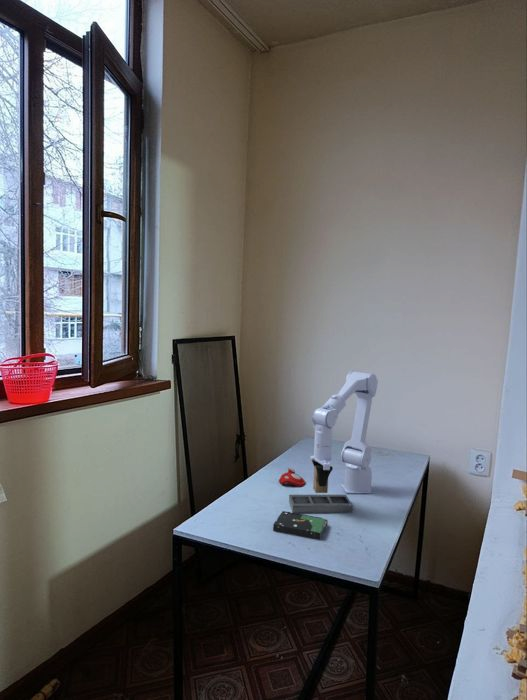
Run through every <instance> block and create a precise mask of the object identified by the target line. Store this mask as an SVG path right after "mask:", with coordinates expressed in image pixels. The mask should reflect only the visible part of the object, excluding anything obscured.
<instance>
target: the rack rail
mask: <svg viewBox="0 0 527 700" xmlns="http://www.w3.org/2000/svg"><path fill="white" fill-rule="evenodd" d="M288 504H289V506H290V510H291V513H297V514H337V513H338V514H339V513H341V514H343V513H344V514H347V513H350V514H351V513H353V511H354V510H353V507H354V506H353V503H352V501H350V499H349V498H348V495H347V494H288Z"/></svg>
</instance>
